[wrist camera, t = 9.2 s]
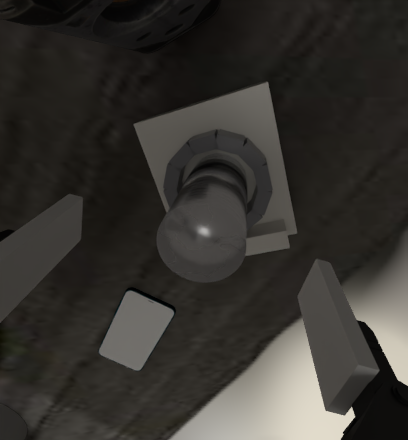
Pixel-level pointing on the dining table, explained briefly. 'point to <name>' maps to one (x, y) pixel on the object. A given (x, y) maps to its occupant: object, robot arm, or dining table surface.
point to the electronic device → (113, 19)
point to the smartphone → (136, 329)
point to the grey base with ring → (232, 145)
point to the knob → (207, 221)
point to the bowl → (11, 425)
